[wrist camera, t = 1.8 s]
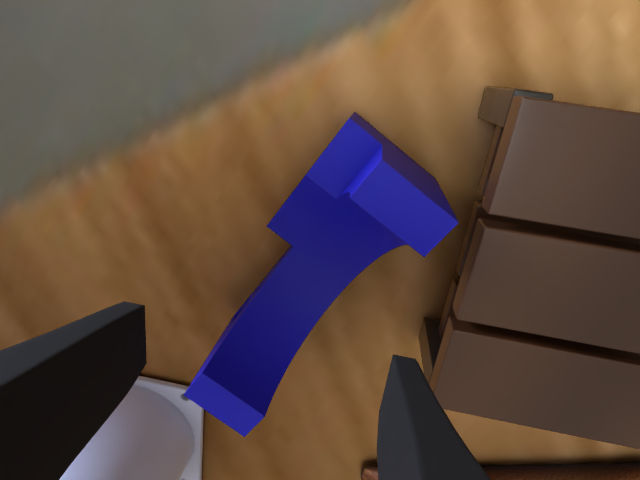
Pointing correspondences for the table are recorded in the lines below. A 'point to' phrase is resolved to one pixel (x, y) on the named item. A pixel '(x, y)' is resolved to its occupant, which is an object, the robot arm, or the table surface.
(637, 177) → the rack
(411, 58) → the table surface
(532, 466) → the sunglasses case
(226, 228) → the table surface
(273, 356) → the blue stepped block
